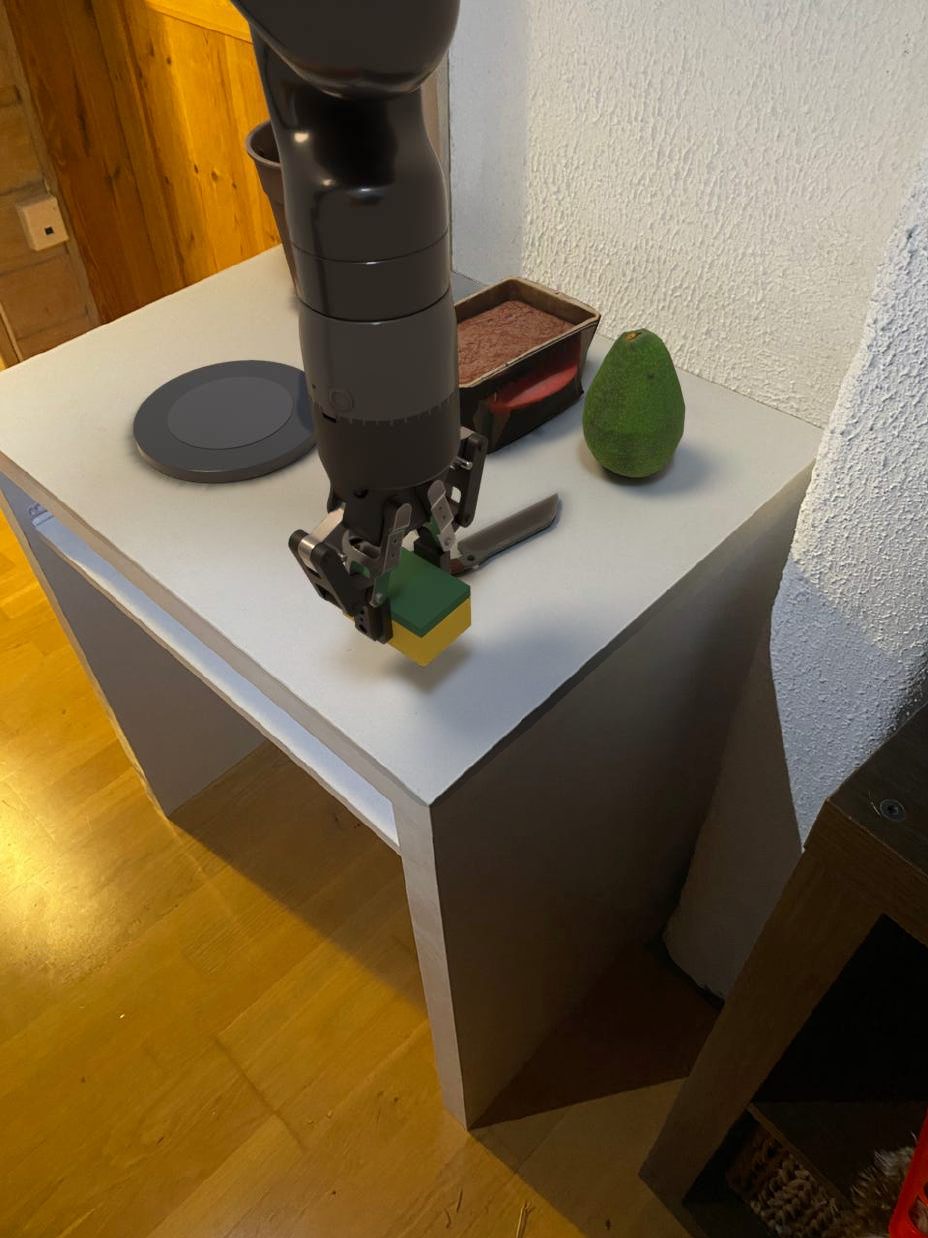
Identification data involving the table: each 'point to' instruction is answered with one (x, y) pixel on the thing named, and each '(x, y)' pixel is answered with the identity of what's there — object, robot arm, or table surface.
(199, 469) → the plate
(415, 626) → the sponge
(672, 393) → the avocado
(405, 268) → the robot arm
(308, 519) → the table surface
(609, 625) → the table surface
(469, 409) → the baking dish
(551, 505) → the knife
